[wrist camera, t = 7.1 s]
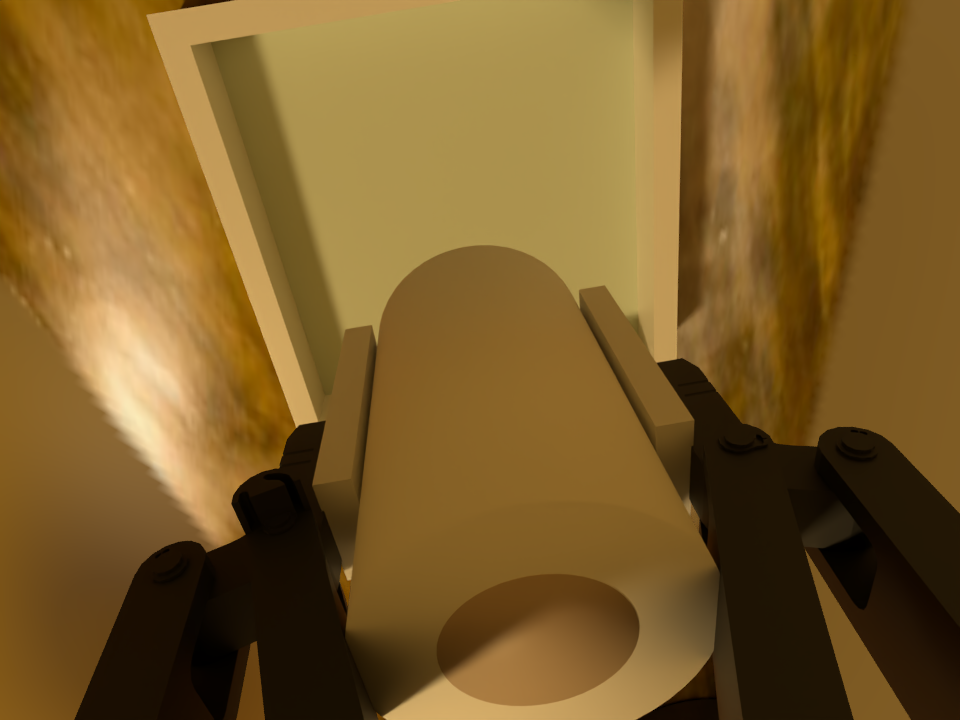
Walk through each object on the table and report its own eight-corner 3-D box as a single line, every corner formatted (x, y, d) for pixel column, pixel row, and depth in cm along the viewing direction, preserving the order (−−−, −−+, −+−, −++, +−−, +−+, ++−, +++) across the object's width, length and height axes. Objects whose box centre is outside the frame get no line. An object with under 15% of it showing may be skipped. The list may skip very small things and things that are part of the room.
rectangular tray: (654, 350, 36) (676, 381, 33) (312, 408, 36) (302, 444, 33) (653, -66, 26) (684, -75, 23) (177, 14, 26) (146, 15, 23)
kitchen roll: (586, 407, 20) (717, 719, 11) (401, 438, 20) (391, 775, 11) (574, 228, 17) (741, 468, 8) (356, 264, 17) (293, 544, 8)
